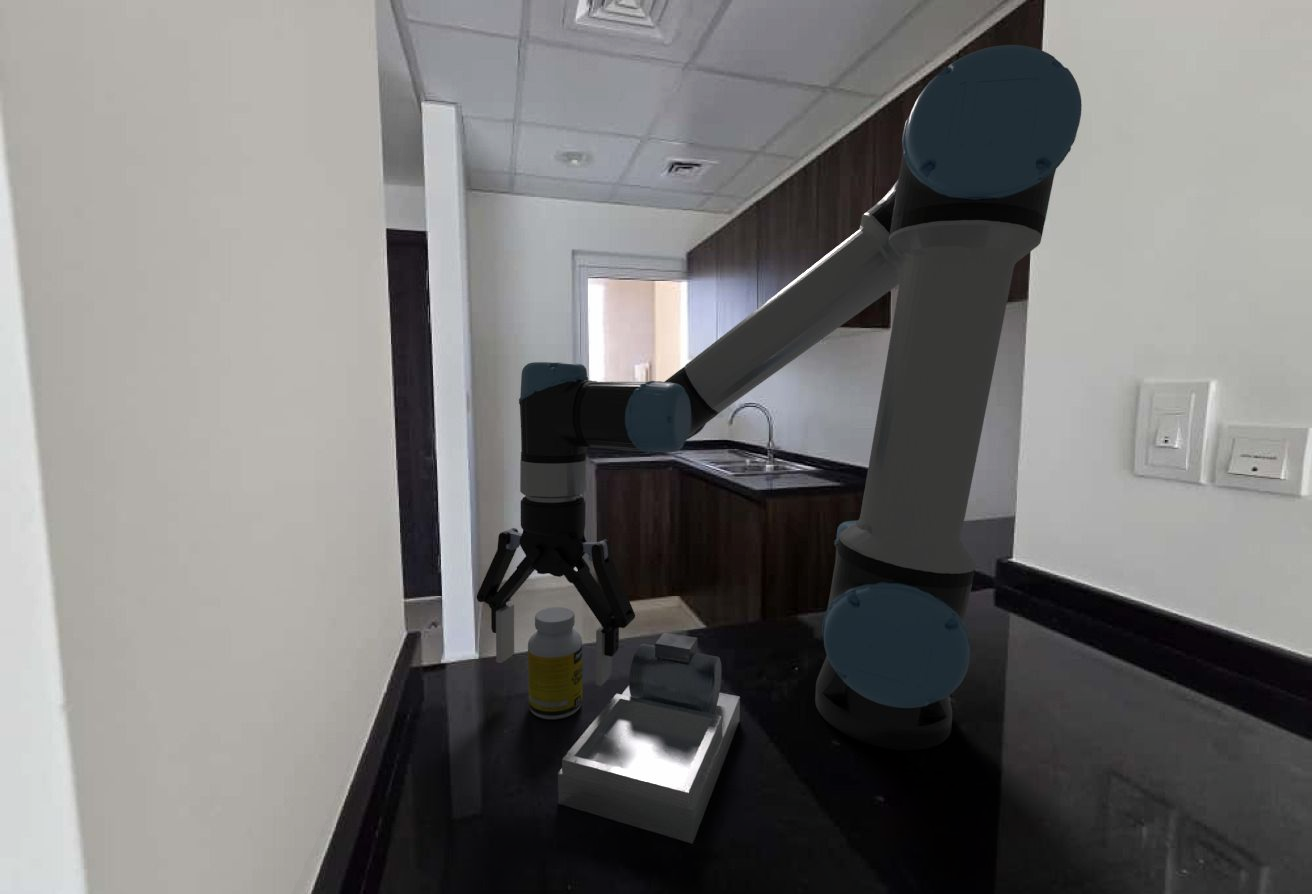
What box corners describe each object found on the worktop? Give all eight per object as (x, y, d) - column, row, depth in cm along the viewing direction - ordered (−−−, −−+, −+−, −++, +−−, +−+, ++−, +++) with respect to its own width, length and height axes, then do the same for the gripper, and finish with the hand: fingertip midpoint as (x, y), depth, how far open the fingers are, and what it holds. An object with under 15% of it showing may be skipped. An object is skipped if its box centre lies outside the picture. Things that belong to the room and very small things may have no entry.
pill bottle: (571, 725, 64) (571, 628, 63) (519, 718, 65) (517, 622, 64) (589, 695, 70) (589, 606, 69) (541, 689, 72) (540, 602, 70)
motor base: (692, 843, 47) (694, 727, 46) (558, 803, 52) (557, 697, 51) (739, 721, 65) (741, 635, 64) (636, 699, 69) (636, 618, 68)
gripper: (664, 499, 64) (660, 674, 67) (485, 482, 73) (486, 637, 75) (640, 512, 57) (636, 707, 60) (445, 491, 66) (447, 662, 68)
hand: (552, 668), depth 67 cm, fingers open, 13 cm apart
